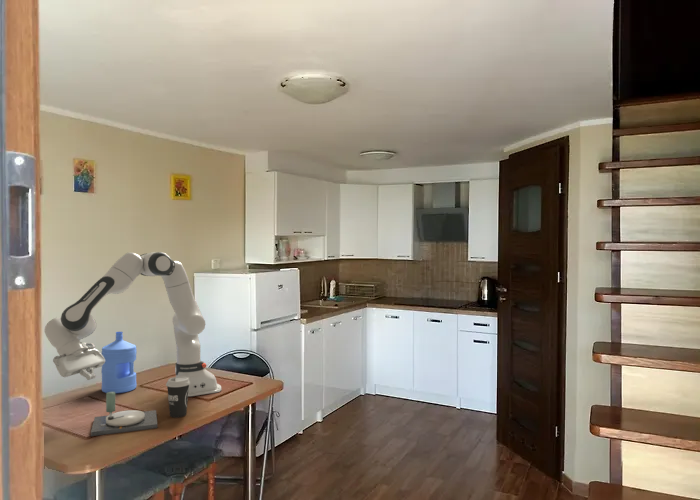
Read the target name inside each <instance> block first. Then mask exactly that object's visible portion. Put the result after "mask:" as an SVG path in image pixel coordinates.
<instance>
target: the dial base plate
mask: <svg viewBox="0 0 700 500" xmlns="http://www.w3.org/2000/svg"><path fill="white" fill-rule="evenodd" d="M143 412H144V413H145V418H144V420H143V421H141V422H139V423H136V424H133V425H128V426H110V425H107V424H106V417H107V416H108V415H101V416H94V418H93V421H92V422H93V423H92V426H91V430H90V437H95V436H104V435H112V434H113V435H114V434H119V433H120V434H121V433H122V434H123V433H128V432H135V431H143V430H153V429H158V417H157V409H155V410H154V409H153V410H145V411H144V410H143Z"/></svg>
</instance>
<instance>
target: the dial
mask: <svg viewBox="0 0 700 500" xmlns="http://www.w3.org/2000/svg"><path fill="white" fill-rule="evenodd" d="M105 399H106V400H105V406H106V407H105V412H106V413H109V415H106V416H107V417H106V424H107V425H110V426H128V425H133V424H136V423H139V422H141V421H143V420H144V418H145V413H144V411H141V410H137V409H133V410H131V409H130V410H128V409H127V410H120V411H117V412H116V393H115V392H107V393H105Z"/></svg>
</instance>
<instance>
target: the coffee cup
mask: <svg viewBox="0 0 700 500" xmlns="http://www.w3.org/2000/svg"><path fill="white" fill-rule="evenodd" d="M189 384H190V381H189V380H188V378H187V377H176V376H174V377H170V378H168V379H167V381H166V383H165V386H166V387H167V395H168V397H167V398H168V409H169V417H171V418H174V419H175V418H176V419H177V418H182V417H186V416H187V411H188V401H189V400H188V399H189V396H188V390H189Z"/></svg>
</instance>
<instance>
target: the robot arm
mask: <svg viewBox="0 0 700 500" xmlns="http://www.w3.org/2000/svg"><path fill="white" fill-rule="evenodd" d="M140 275H141V276H144V277H157V276H159V277H161V279H162V281H163V284H164V287H165V290H166V294H167V298H168V301H169V304H170V305H171V307H172V309H173V311H174V314H173V316H172V324H173V330H174V331H173V332H174V340H175V345H176V352H175V353H176V360H175V361H176V362H175V364H174V365H175V366H174V367H175V368H174V370H175V371H174V372H175V377H187V378H188V380H189V381H190V384H189V390H188V397H195V396H200V395H201V396H202V395H208V394H215V393H219V392H221V391H222V385H221V384H219V383H218V382H217V378H216V376H215V375H214V373H212V372H211V371H209V370H207V369H206V368H207V364H206V362H204V361H202V360H201V343H200V340H199V334H201V333H202V332H203V331H204V330H205V328H206V320H205V318H204V317H203V315H202V312H201V309H200V308H199V307H200V306H199V305H198V303H197V301H196V298H195V296H194V292H193V289H192V286H191V284H190V279H189V276H188V274H187V271H186V269H185V267H184V266H183V263H181V262H180V261H178V260H173V259H172V257H171V256H169V254H167V253H165V252H162V251H152V252H148V253H143V254H140V255H139V254H137V253H135V252H131V251H130V252H126V253H124V254H123V255H122V256H121V257H120V258H118V260H117V261H115V262H114V264H113V265H111V267H110V268H109V270H108V271H107V272H106V273H105V274H104V275H103V276H102V277H101V278H99V279H98V280H97V281H96V282H95V283H94V284H93V285H92V286H91V287H90V288H89V289H88V290H87V291H86V292H85V293H84V294H83V295H82V296H81V298H79V299H78V300H77V301H76V302H74V303H72V304H71V305H69V306H68V307H66V308H65V309H64V310H63V312H62V313H61V315H60V316H59V317H57V316H56V317H53V318H52V319H51V320H49V321H48V322H47V324H46V325H45V327H44V334H45V337H46V338H47V339H48V341H49V343H50V344H51V346H53V347H54V348H55V350H56V352H57V354H58V355H55V356H54V358H53V359H52V362H53V364H54V366H55V368H56V370H57V371H58V374H59V375H60V377H62V378H68V377H70V376H75V375H78V374H80V376H82V377H84V378H85V379H86V381H90V380H94V379H95V378H96V377H97V375H96V373H95V369H97V368H102V365H103V364H104V363H105V358H104V357H103V355H102V354H101V353H102V352H101V351H100V350H98V349H97V348H96V345H95V344H94V343H93V342H84V341H81V340H83V339H85V338H87V337H89V336H91V335H92V334H93V333H94V332H95V330H96V328H97V322H96V320H95V319H94V317H93V316H92V315H91V313H92V312H93V311H92V310H93V309H94V308H95V307H96V306H97V305H98V304H99V303H100V302H101V300H103V299H104V298H105V297H106V296H107V295H110V294H111V295H112V294H115V295H118V294H122V293H124V292H125V291H126V290H127V289H129V288H130V286H131V285H132V284H133V283H134V281H135V280H136V278H137V277H138V276H140Z"/></svg>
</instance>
